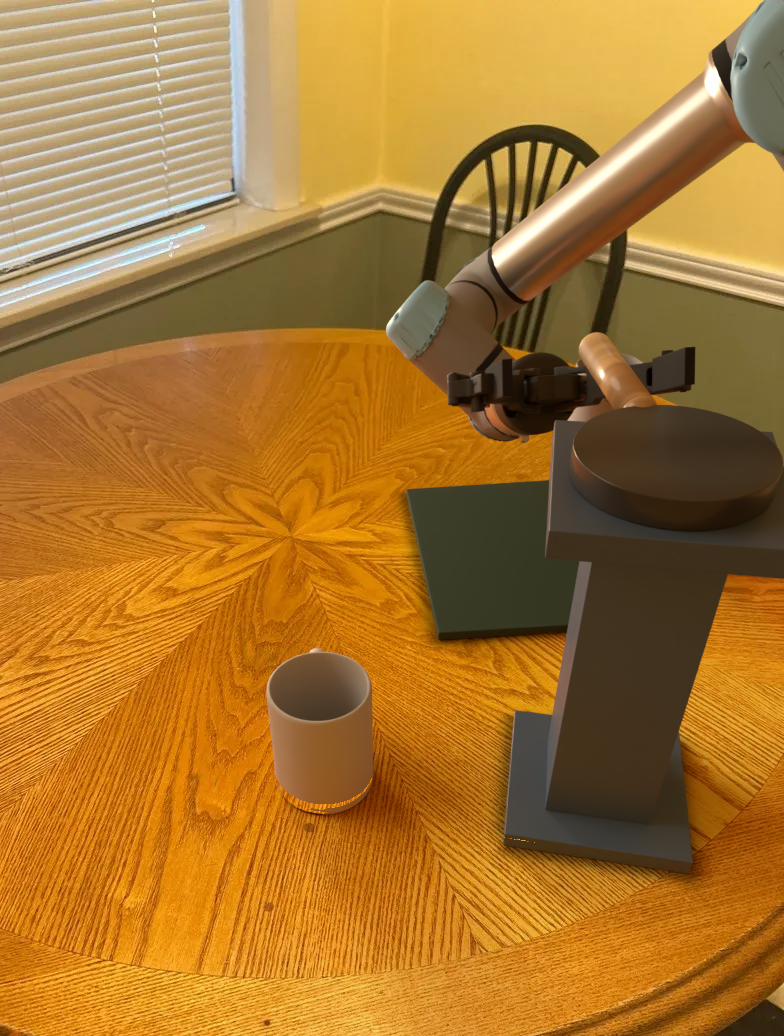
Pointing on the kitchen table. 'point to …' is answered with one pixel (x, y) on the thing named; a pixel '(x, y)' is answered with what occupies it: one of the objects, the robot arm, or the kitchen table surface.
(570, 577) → the mat
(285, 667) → the mug
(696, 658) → the stand
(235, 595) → the kitchen table surface
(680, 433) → the brown paddle
